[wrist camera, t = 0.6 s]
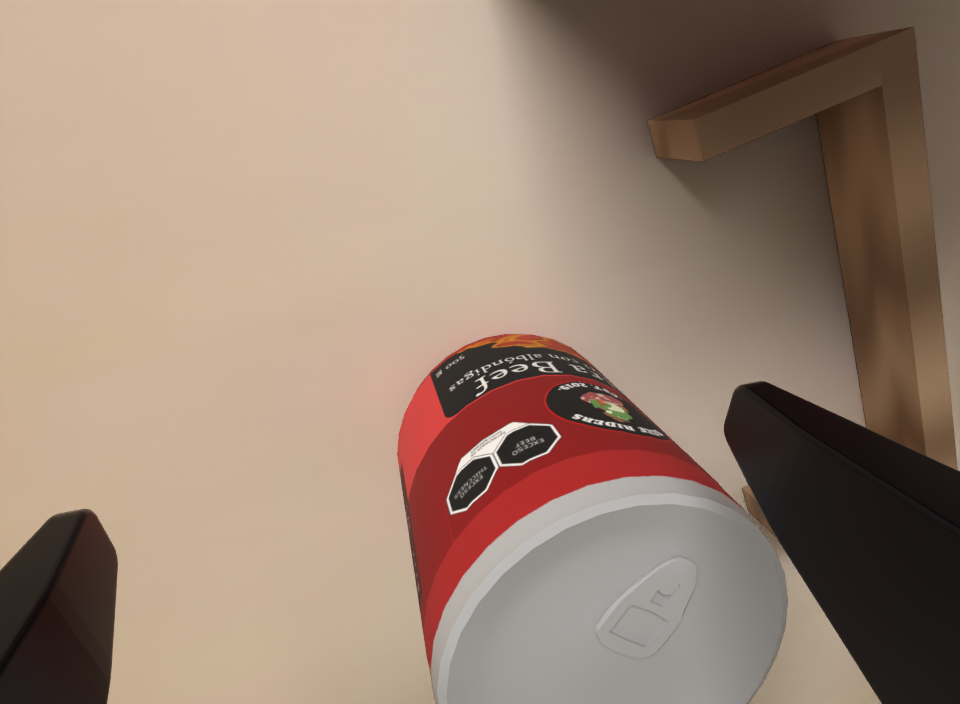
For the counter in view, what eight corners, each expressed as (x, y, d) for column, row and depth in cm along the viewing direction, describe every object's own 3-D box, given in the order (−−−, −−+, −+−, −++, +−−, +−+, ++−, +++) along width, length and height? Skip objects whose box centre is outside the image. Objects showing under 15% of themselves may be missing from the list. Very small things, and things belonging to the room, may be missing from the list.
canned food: (632, 353, 23) (852, 525, 13) (559, 538, 25) (702, 811, 15) (432, 300, 21) (510, 456, 11) (370, 506, 23) (388, 798, 13)
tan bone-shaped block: (895, 442, 27) (958, 478, 24) (748, 510, 27) (794, 554, 24) (839, 40, 21) (913, 26, 18) (647, 121, 21) (693, 120, 18)
